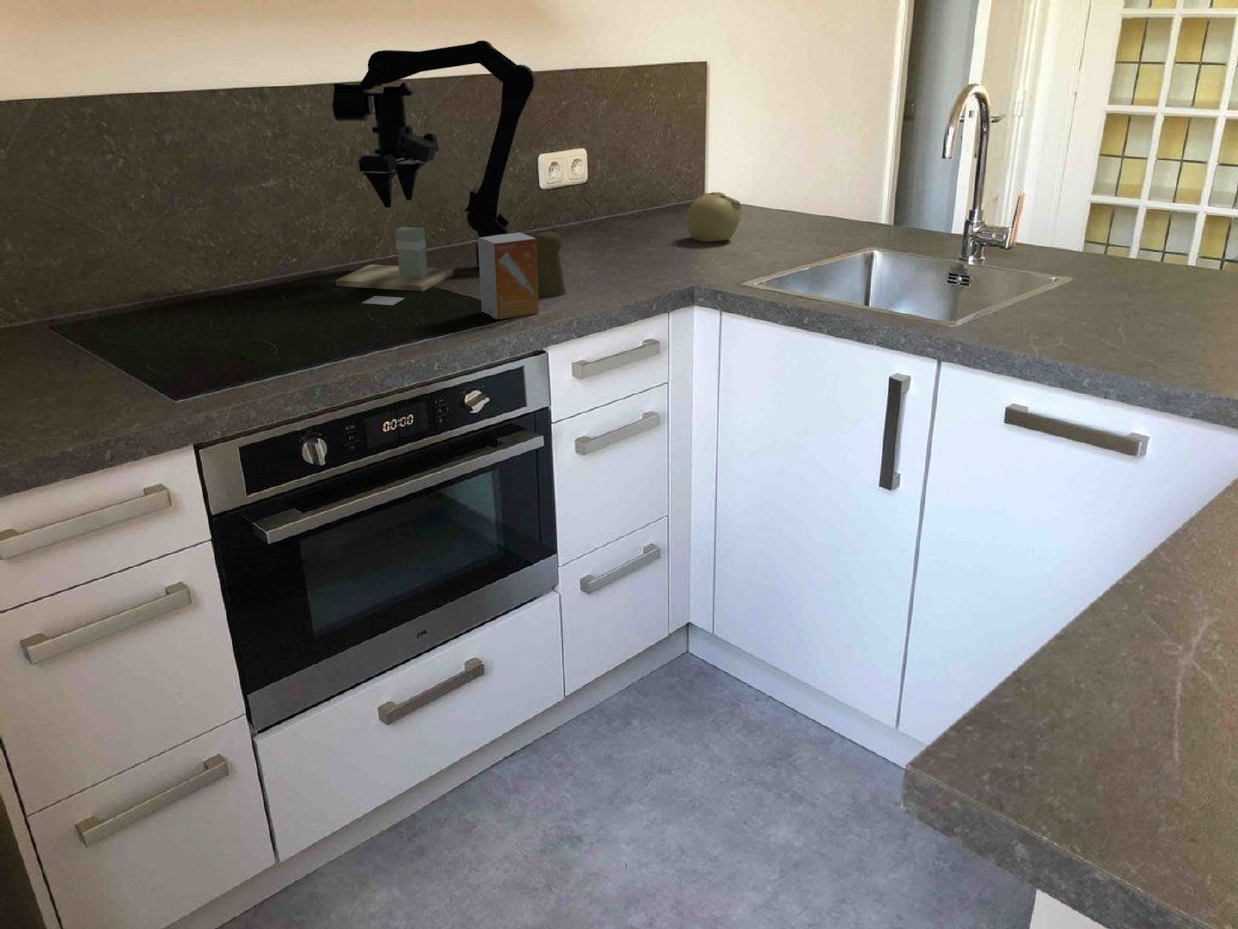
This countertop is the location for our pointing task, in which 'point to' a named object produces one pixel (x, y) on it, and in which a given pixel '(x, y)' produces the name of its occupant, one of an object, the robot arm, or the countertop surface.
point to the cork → (549, 265)
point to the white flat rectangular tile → (383, 300)
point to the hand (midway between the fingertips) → (398, 203)
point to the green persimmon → (713, 217)
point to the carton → (411, 252)
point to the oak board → (392, 278)
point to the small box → (508, 275)
